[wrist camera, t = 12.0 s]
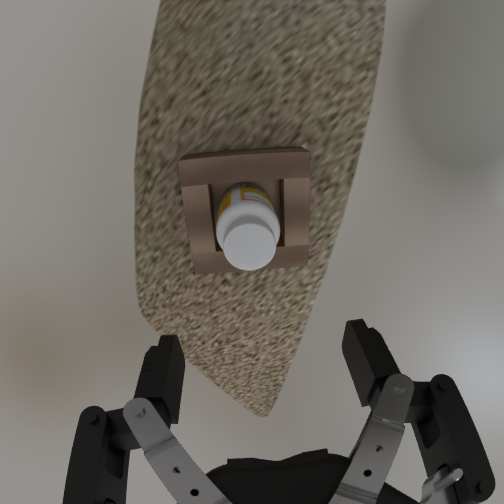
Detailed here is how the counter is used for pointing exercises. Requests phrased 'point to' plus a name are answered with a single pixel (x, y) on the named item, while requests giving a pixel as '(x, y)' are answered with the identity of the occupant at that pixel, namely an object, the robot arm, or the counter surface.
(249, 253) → the supplement bottle
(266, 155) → the socket block
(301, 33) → the counter surface
